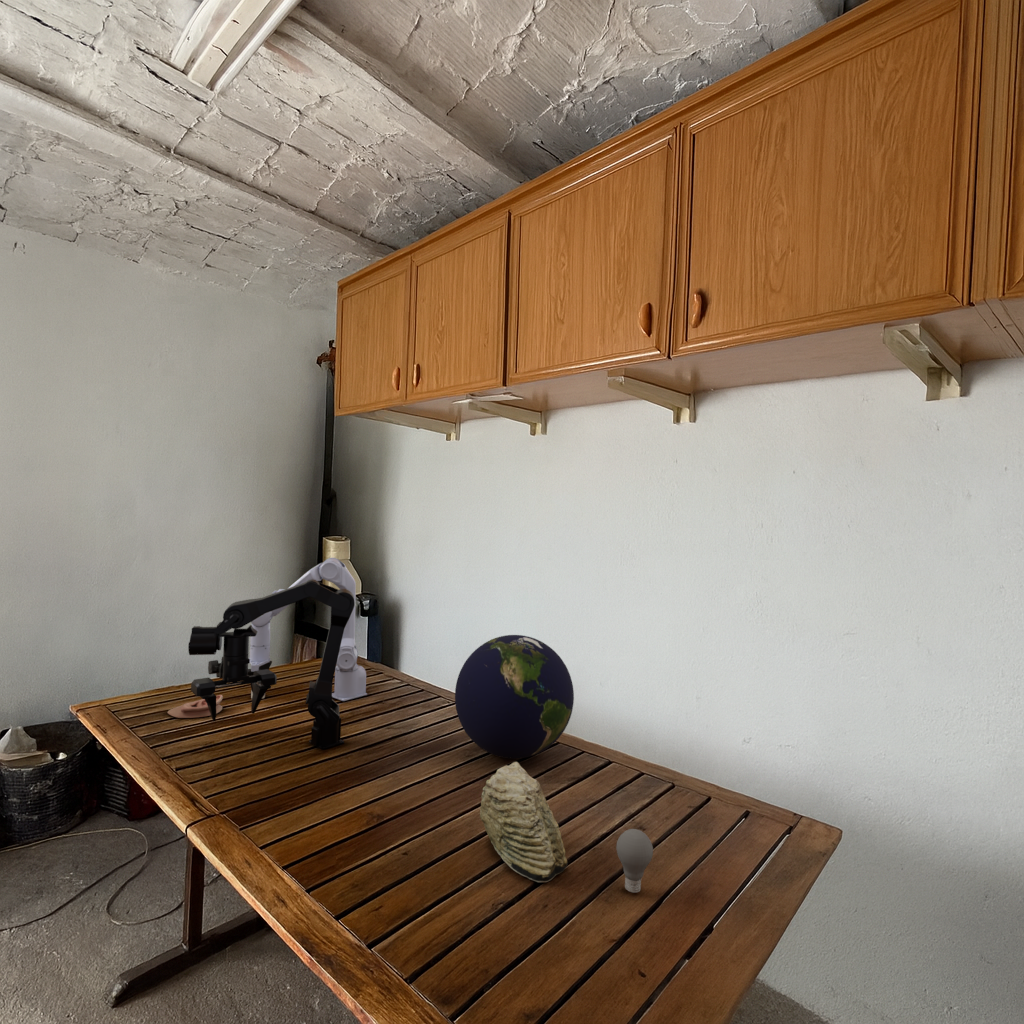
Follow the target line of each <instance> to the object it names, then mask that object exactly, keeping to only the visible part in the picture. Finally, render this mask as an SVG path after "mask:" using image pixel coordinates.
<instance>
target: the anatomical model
mask: <svg viewBox="0 0 1024 1024" xmlns="http://www.w3.org/2000/svg"><path fill="white" fill-rule="evenodd" d="M223 698H224V696H223V695H222V694H219V695H218V694H217V695H216V714H218V713H220V712H221V711H222V710H223V706H222V705H221V702H222V700H223ZM167 714H168V715H170V716H172V717H174V718H179V719H194V718H203V717H204V718H205V717H208V716H211V714H210V711H209V708H208V705H207V703H206V701H205V699H202V698H201V699H198V700H195V701H191V702H186V703H183V704H182V705H181V704H180V705H178V706H175V707H173V708H171V709H169V710H168V711H167Z"/></svg>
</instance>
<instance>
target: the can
mask: <svg viewBox="0 0 1024 1024" xmlns="http://www.w3.org/2000/svg"><path fill="white" fill-rule="evenodd" d="M250 690H251V689H250ZM250 692H251V693H250V698H251V699H252V695H253V693H252V690H251V691H250ZM265 698H266V693H265V694H264V696H263V697H262V699H261V700H263V699H265Z"/></svg>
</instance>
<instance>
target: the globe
mask: <svg viewBox="0 0 1024 1024" xmlns="http://www.w3.org/2000/svg"><path fill="white" fill-rule="evenodd" d="M454 690H455V691H454V703H455V704H454V705H455V710H456V715H457V718H458V720H459V723H460V725H461V727H462V729H463V731H464V732H465V733H466V735H467V736H468V737H469V739H470V740H471V741H472V742H473V743H474V744H475V745H476V746H478V747H479V748H481V749H482V750H483V751H485V752H487V753H488V754H491V755H493V756H495V757H499V758H503V759H509V760H517V759H526V758H530V757H534V756H536V755H538V754H541V753H542V752H544V751H546V750H547V749H549V748H551V747H552V746H553V745H554V744H555V743H556V742H557V741H558V739H560V738H561V736H563V733H564V732H565V730H566V728H567V727H568V724H569V722H570V719H571V717H572V714H573V710H574V709H573V708H574V701H575V692H574V691H575V690H574V684H573V680H572V676H571V673H570V672H569V669H568V666H567V665H566V664H565V662H564V661H563V659H562V658H561V657H560V655H559V654H558V653H557V652H556V651H555V650H554V649H553V648H552V647H550V646H549V645H548V644H546V643H545V642H543V641H541V640H539V639H537V638H534V637H532V636H527V635H522V634H508V635H500V636H497V637H493V638H491V639H490V640H488V641H485V642H484V643H483V644H481V645H479V646H478V647H476V648H475V650H474V651H472V653H471V654H470V655H469V656H468V657H467V659H466V660H465V661H464V663H463V665H462V667H461V668H460V671H459V673H458V676H457V679H456V683H455V689H454Z"/></svg>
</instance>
